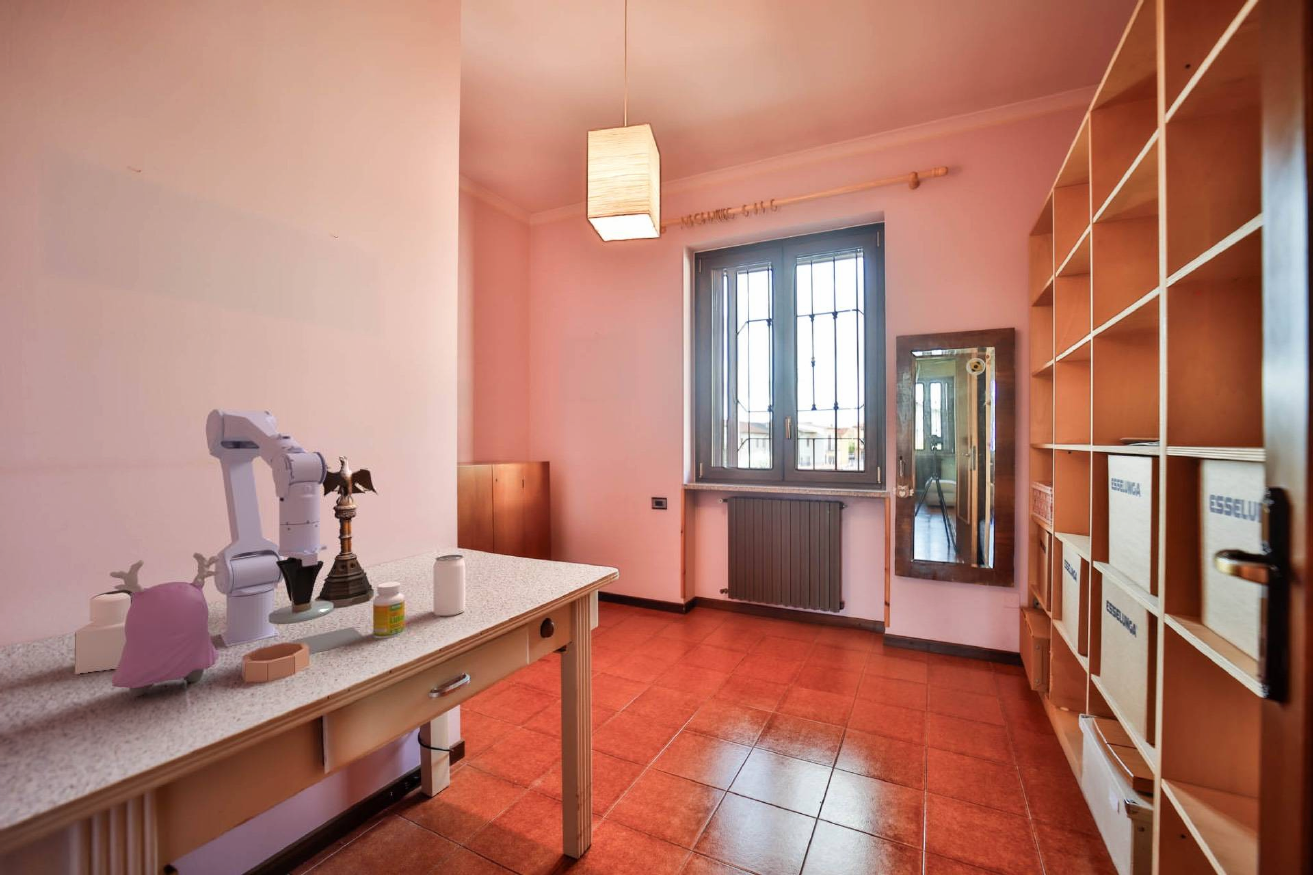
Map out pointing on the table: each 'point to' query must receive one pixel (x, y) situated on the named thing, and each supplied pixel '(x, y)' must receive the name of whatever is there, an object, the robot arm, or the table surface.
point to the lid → (300, 612)
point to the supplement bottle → (388, 611)
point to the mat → (332, 640)
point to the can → (449, 585)
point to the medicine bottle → (103, 633)
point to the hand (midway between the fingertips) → (299, 601)
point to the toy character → (165, 631)
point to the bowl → (275, 661)
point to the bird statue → (346, 539)
